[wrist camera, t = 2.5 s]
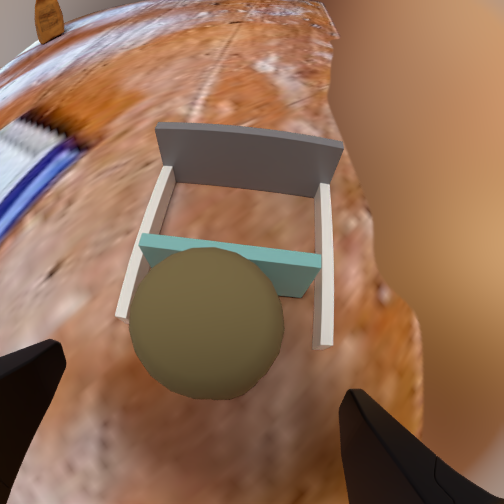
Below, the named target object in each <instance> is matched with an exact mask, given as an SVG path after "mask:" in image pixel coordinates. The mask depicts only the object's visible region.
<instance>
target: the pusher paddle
mask: <svg viewBox="0 0 504 504" xmlns="http://www.w3.org/2000/svg"><path fill="white" fill-rule="evenodd" d="M138 246H139V248H140V249H141V251H142V253H143V255H144V256H145V258H146V260H147V261H148V263H149V265H150V266H151V268H152V267H154V266H155V265H157V264H158V263H160V262H161V261H163V260H164V259H165V258H167V257H168V256H170V255H172V254H175V253H178V252H181V251H184V250H187V249H190V248H201V247H217V248H220V249H224V250H228V251H232V252H236V253H238V254H240V255H241V256H243V257H245V258H246V259H248V260H250V261H251V262H253V263H255V264H256V265H257V266H258V267H259V268H260V269H261V270H262V271H263V272H264V274H265V275H266V276H267V277H268V278H269V279H270V280H271V282H272V284H273V286H274V288H275V290H276V293H277V295H279V296H289V297H298V298H302V296H303V295H304V293H305V292H306V290H307V289H308V287H309V286H310V284H311V283H312V281H313V280H314V278H315V277H316V275H317V274H318V272H319V271H320V269H321V254H313V253H305V252H297V251H289V250H281V249H273V248H265V247H257V246H248V245H240V244H232V243H224V242H215V241H207V240H199V239H190V238H182V237H173V236H165V235H156V234H148V233H142V235H141V238H140V241H139V244H138Z"/></svg>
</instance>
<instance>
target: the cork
mask: <svg viewBox="0 0 504 504" xmlns="http://www.w3.org/2000/svg"><path fill="white" fill-rule="evenodd" d="M129 331H130V335H131V339H132V343H133V346H134V350H135V353H136V355H137V356H138V358H139V359H140V361H141V362H142V364H143V365H144V367H145V368H146V370H147V371H148V373H149V374H150V376H152V377H153V378H154V379H155V380H157V381H158V382H159V383H161V384H162V385H163V386H165V387H166V388H167V389H169V390H170V391H172V392H175V393H178V394H181V395H184V396H187V397H190V398H193V399H213V400H230V399H232V398H235V397H238V396H241V395H243V394H245V393H246V392H247V391H249V390H250V389H251V388H252V387H254V386H255V385H256V383H257V382H258V380H259V379H261V378H262V377H263V376H264V375H265V374H266V373H267V372H268V370H269V368H270V367H271V365H272V364H273V362H274V360H275V359H276V357H277V356H278V354H279V351H280V347H281V343H282V338H283V334H284V320H283V310H282V304H281V302H280V299H279V297H278V295H277V293H276V290H275V288H274V286H273V284H272V282H271V280H270V279H269V278H268V277H267V276H266V275H265V274H264V272H263V271H262V270H261V269H260V268H259V267H258V266H257V265H256V264H255V263H253V262H251V261H250V260H248V259H246V258H245V257H243V256H241V255H240V254H238V253H236V252H232V251H228V250H224V249H220V248H217V247H201V248H190V249H187V250H184V251H181V252H178V253H175V254H172V255H170V256H168V257H167V258H165V259H164V260H163V261H161V262H160V263H158V264H157V265H155V266H154V267H152V269H151V270H150V271H149V272H148V274H147V275H146V276H145V277H144V279H143V280H142V281H141V282H140V284H139V285H138V287H137V290H136V292H135V295H134V298H133V300H132V303H131V305H130V318H129Z"/></svg>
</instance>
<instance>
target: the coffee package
mask: <svg viewBox="0 0 504 504" xmlns="http://www.w3.org/2000/svg"><path fill="white" fill-rule="evenodd" d="M35 26H36V31H37V35H38V39H39V42H40V43H41V44H45V43H46V42H48V41H50V40H52V39H53V38H55V37H57V36H59V35H60V34H62V33H63V32H64V21H63V15H62V11H61V9H60V6H59V3H58V1H57V0H36V4H35Z"/></svg>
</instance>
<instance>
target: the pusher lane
mask: <svg viewBox="0 0 504 504" xmlns="http://www.w3.org/2000/svg"><path fill="white" fill-rule="evenodd" d="M155 132H156V136H157V141H158V145H159V149H160V154H161V158H162V162H163V168H162V170H161V173H160V175H159V178H158V180H157V183H156V185H155V188H154V191H153V193H152V196H151V199H150V201H149V204H148V207H147V210H146V212H145V215H144V218H143V221H142V224H141V227H140V230H139V233H138V236H137V239H136V242H135V245H134V248H133V251H132V255H131V258H130V261H129V265H128V268H127V272H126V275H125V279H124V282H123V286H122V290H121V293H120V297H119V301H118V305H117V309H116V313H115V316H116V317H117V318H119V319H120V320H121V321H123V322H124V323H126V324H129V318H130V305H131V303H132V300H133V298H134V295H135V292H136V290H137V287H138V285H139V284H140V282H141V281H142V280H143V279H144V277H145V276H146V275H147V274H148V272H149V268H150V265H149V263H148V261H147V260H146V258H145V256H144V255H143V253H142V251H141V249H140V248H139V246H138V244H139V241H140V238H141V235H142V233H148V234H156V235H159V233H160V229H161V226H162V223H163V220H164V216H165V213H166V210H167V207H168V204H169V201H170V198H171V195H172V192H173V189H174V186H175V183H176V182H182V183H194V184H205V185H216V186H226V187H235V188H244V189H253V190H261V191H269V192H277V193H284V194H291V195H298V196H305V197H312V198H314V205H315V254H321V269H320V271H319V272H318V274H317V275H316V277H315V289H314V320H313V341H312V350H325V349H327V348H329V347H331V346H333V327H334V262H333V233H332V214H331V198H330V185H329V184H330V182H331V180H332V177H333V175H334V172H335V170H336V167H337V165H338V162H339V160H340V157H341V155H342V152H343V150H344V147H343V142H341V141H337V140H332V139H326V138H321V137H316V136H310V135H304V134H298V133H291V132H284V131H277V130H270V129H262V128H253V127H243V126H232V125H219V124H203V123H177V122H158V124H157V126H156V127H155Z"/></svg>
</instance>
